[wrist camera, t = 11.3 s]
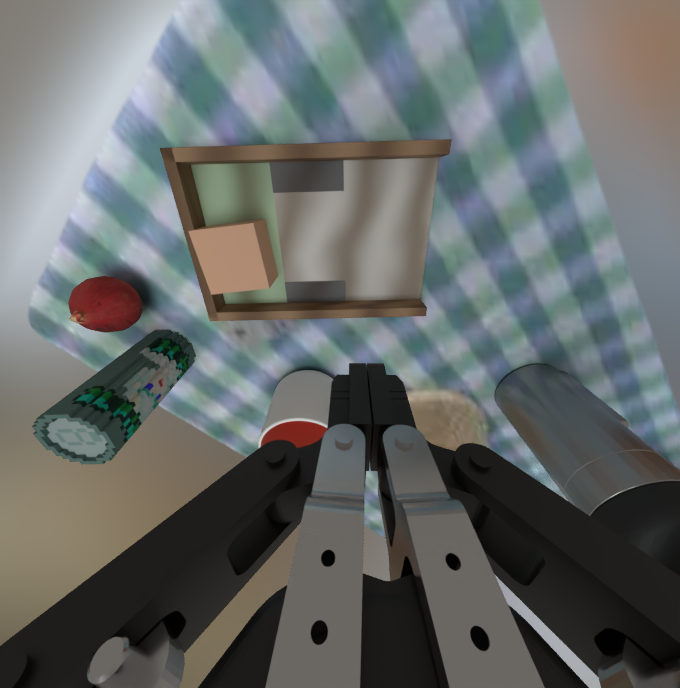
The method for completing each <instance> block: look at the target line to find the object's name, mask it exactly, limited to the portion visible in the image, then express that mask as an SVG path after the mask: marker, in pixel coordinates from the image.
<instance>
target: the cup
mask: <svg viewBox="0 0 680 688" xmlns="http://www.w3.org/2000/svg"><path fill="white" fill-rule="evenodd" d="M333 380H334V379H332V378H331V377H330V376H328V375H326V374H324V373H322V372H318V371H314V370H301V371H297V372H294V373H291V374H289V375H287V376H286V377H285V378H283V379H282V380H281V381H280V382H279V384H278V385H277V387H276V389H275V392H274V395H273V398H272V401H271V404H270V407H269V410H268V413H267V416H266V420H265V423H264V426H263V429H262V432H261V435H260V438H259V443H258V447H259V448H260V447H261V446H263V445H264V444H266V443H268V442H271V441H274V440H287V441H290V442H291V443H293V444H294V445H295V446H296V447H297V448H299V447H303V446H307V445H310V444H313V443H315V442H317V441H318V440H320V439H321V438H322V437H323V436H324V434H325V432H326V431H327V427H328V417H329V406H330V395H331V384H332V381H333Z"/></svg>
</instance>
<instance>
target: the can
mask: <svg viewBox="0 0 680 688" xmlns="http://www.w3.org/2000/svg"><path fill="white" fill-rule="evenodd" d="M195 357H196V355H195V352H194V350H193V347H192V344H191V343H188V341H187V339H186V338H183V336H182V335H179V334H178V333H172V332H171V330H155V331H154V332H152V333H150V334H149V335H147V336H146V337H145V338H143V339H142V340H141V341H139V342H138V343H137V344H135V345H134V346H133V347H131V348H130V349H129V350H127V351H126V352H125V353H123V354H122V355H121V356H119V357H118V358H117V359H115V360H114V361H113V362H111V363H110V364H109V365H107V366H106V367H105V368H103V369H102V370H101V371H99V372H98V373H97V374H95V375H94V376H93V377H91V378H90V379H89V380H87V381H86V382H85V383H83V384H82V385H81V386H79V387H78V388H77V389H75V390H74V391H73V392H72V393H70V394H69V395H67V396H66V397H65V398H63V399H62V400H61V401H59V402H58V403H57V404H55V405H54V406H53V407H51V408H50V409H49V410H47V411H46V412H45V413H43V414H42V415H41V416H39V417H38V418H37V419H36V420H37V421H36V422H34V423H35V425H33V426H32V427H33V428H34V430H35V431H36V432H34V433H33V434H34V435H35V437H36V438H37V439H38V440H39V441H40V442H41V444H42V445H43V446H44V447H45V448H46V449H47V450H52V451H53V452H54V453H55V454H56V456H62V457H63V459H69V460H70V462H77V461H79V462H80V463H81V464H104V463H105V462H106V461H110V460H112V458H113V457H114V456H115V455H116V454H117V452H118V451H119V450H120V449H121V448H122V447H123V445H124V444H125V443H126V442H127V441H128V439H129V438H130V437H131V436H132V435H133V433H134V432H135V431H136V430H137V429H138V428H139V426H140V425H141V424H142V423H143V422H144V421H145V419H146V418H147V417H148V416H149V415H150V414H151V412H152V411H153V410H154V409H155V408H156V406H157V405H158V404H159V403H160V402H161V401H162V399H163V398H164V397H165V396H166V395H167V393H168V392H169V391H170V390H171V389H172V388H173V386H174V385H175V384H176V383H177V382H178V381H179V379H180V378H181V377H182V376H183V375H184V373H185V372H186V371H187V370H188V369H189V368H190V366H191V365H192V364H193V363H194V358H195Z"/></svg>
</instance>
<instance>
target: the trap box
mask: <svg viewBox="0 0 680 688" xmlns="http://www.w3.org/2000/svg"><path fill="white" fill-rule="evenodd" d="M450 146H451V139H448V140H414V141H381V142H347V143H313V144H279V145H245V146H211V147H177V148H160V150H161V154H162V157H163V161H164V164H165V168H166V171H167V175H168V178H169V181H170V185H171V188H172V192H173V195H174V199H175V202H176V205H177V209H178V212H179V216H180V219H181V223H182V226H183V230H184V233H185V236H186V240H187V243H188V247H189V250H190V254H191V257H192V261H193V264H194V267H195V271H196V274H197V278H198V281H199V285H200V288H201V292H202V295H203V298H204V302H205V305H206V309H207V312H208V316H209V319H210V321H234V320H276V319H319V318H361V317H404V316H426V310H427V307H426V306H425V305H424V303H423V302H422V301H421V291H422V284H423V276H424V268H425V261H426V253H427V246H428V238H429V230H430V223H431V215H432V207H433V200H434V192H435V185H436V177H437V169H438V162H439V157H442V156H445V155H448V154H449V153H450ZM259 219H266V224H267V228H268V232H269V237H270V241H271V246H272V250H273V255H274V259H275V263H276V268H277V272H278V277H277V279H276V280H275V281H274V283H273V284H272V286H271V287H270V288H268V289H259V290H250V291H241V292H231V293H222V294H213V295H211V292H210V290H209V287H208V284H207V281H206V279H205V276H204V273H203V270H202V268H201V265H200V262H199V259H198V257H197V254H196V251H195V248H194V246H193V243H192V240H191V237H190V235H189V232H188V231H191V230H195V229H198V228H202V227H206V226H211V225H219V224H227V223H235V222H243V221H251V220H259Z"/></svg>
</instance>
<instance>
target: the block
mask: <svg viewBox="0 0 680 688" xmlns="http://www.w3.org/2000/svg"><path fill="white" fill-rule="evenodd" d="M188 232H189V235H190V237H191V240H192V243H193V246H194V248H195V251H196V254H197V257H198V259H199V262H200V265H201V268H202V270H203V273H204V276H205V279H206V281H207V284H208V287H209V290H210V292H211V295H213V294H222V293H231V292H241V291H250V290H259V289H268V288H270V287H271V286H272V284H273V283H274V281H275V280H276V279H277V277H278V272H277V268H276V263H275V259H274V255H273V250H272V246H271V241H270V237H269V232H268V228H267V224H266V219H259V220H251V221H243V222H235V223H227V224H219V225H211V226H206V227H202V228H198V229H195V230H191V231H188Z"/></svg>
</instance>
